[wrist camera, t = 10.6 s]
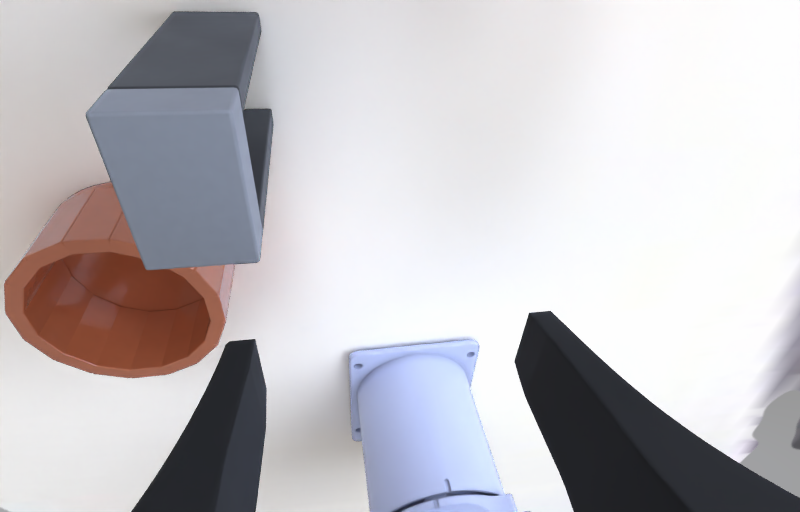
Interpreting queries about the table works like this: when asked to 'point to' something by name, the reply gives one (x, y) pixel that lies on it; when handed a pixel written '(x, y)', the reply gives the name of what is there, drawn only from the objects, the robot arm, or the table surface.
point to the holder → (112, 296)
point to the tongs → (189, 142)
